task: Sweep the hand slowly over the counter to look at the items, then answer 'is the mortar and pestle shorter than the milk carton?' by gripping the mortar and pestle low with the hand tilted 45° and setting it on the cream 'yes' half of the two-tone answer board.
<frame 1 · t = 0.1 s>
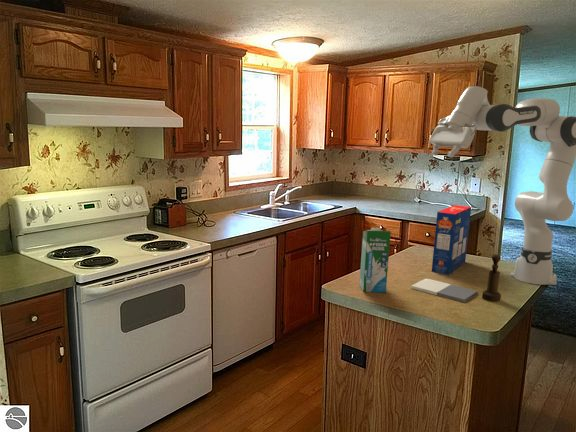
hand: (441, 155, 183), 54 cm above the table, tool tilted 30°, fingers open, 8 cm apart
pasta box: (449, 266, 229), on the table
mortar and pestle: (491, 299, 186), on the table
milk carton: (372, 289, 193), on the table
answer board: (443, 291, 193), on the table
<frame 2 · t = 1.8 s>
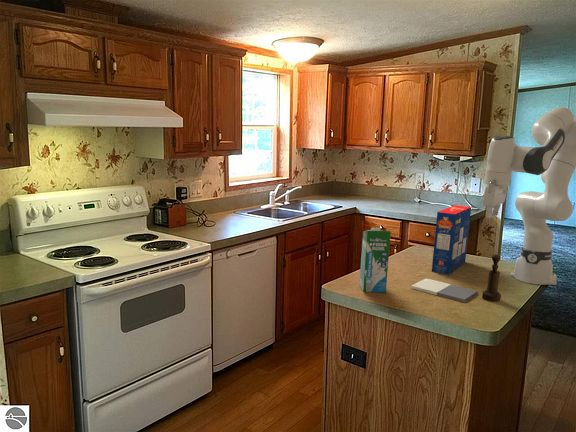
hand: (491, 216, 179), 33 cm above the table, tool pointing down, fingers open, 8 cm apart
nothing on the table moved.
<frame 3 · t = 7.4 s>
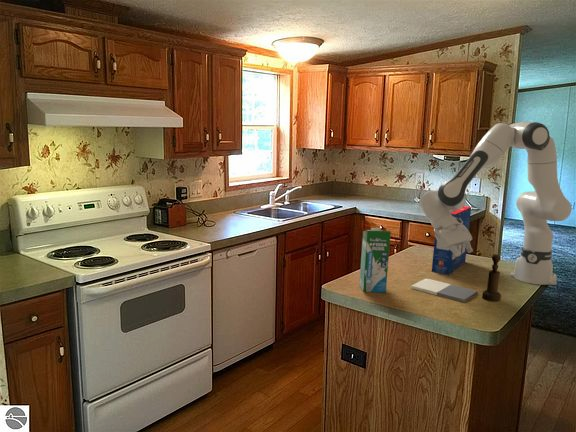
hand: (465, 253, 192), 15 cm above the table, tool tilted 45°, fingers open, 8 cm apart
nothing on the table moved.
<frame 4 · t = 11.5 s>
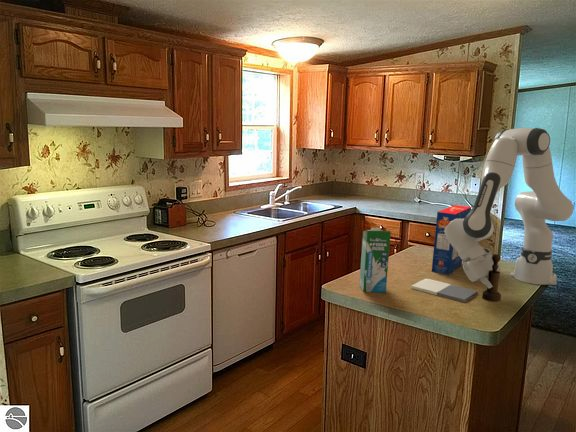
hand: (494, 286, 184), 5 cm above the table, tool tilted 45°, fingers closed on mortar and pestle, 4 cm apart
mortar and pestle: (491, 299, 186), on the table, touching gripper
everything else where it was.
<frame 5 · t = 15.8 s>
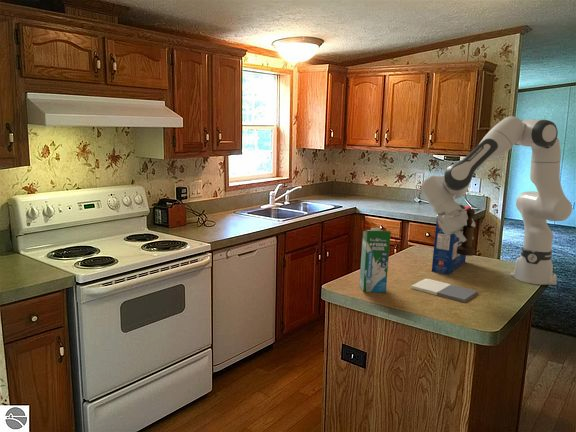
hand: (468, 240, 186), 22 cm above the table, tool tilted 45°, fingers closed on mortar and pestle, 4 cm apart
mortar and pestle: (465, 254, 188), point 16 cm above the table, touching gripper
everything else where it was.
when the fingers open (8 cm above the table, at t = 20.4 s): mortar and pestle drops 1 cm, resting on answer board.
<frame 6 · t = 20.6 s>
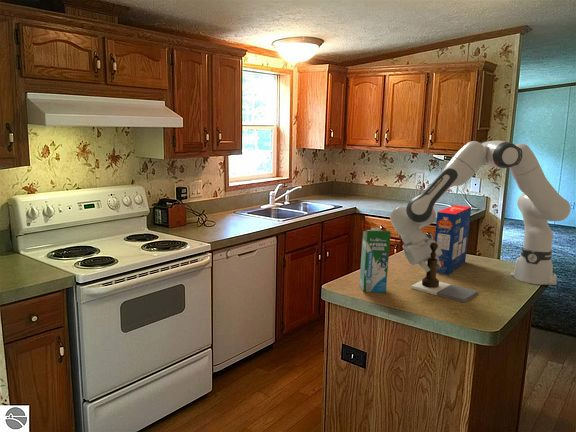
hand: (434, 269, 194), 8 cm above the table, tool tilted 45°, fingers open, 6 cm apart
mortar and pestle: (430, 285, 196), point 1 cm above the table, touching answer board
everything else where it was.
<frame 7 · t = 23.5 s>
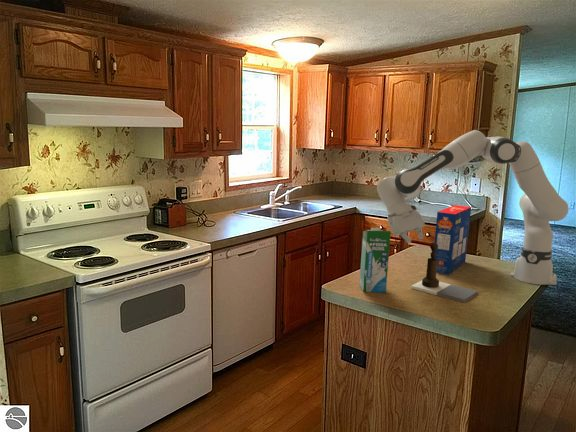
hand: (415, 240, 202), 18 cm above the table, tool tilted 40°, fingers open, 8 cm apart
nothing on the table moved.
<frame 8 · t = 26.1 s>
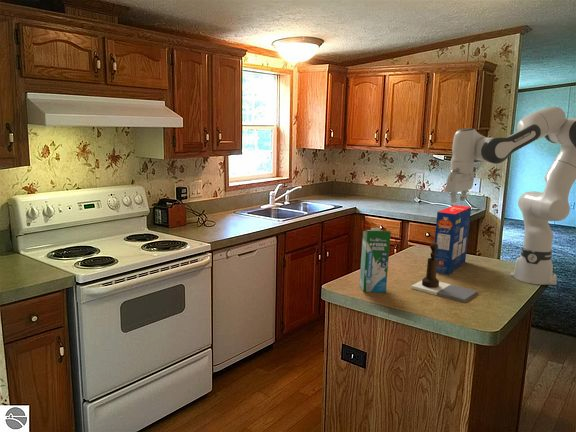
hand: (458, 201, 198), 35 cm above the table, tool pointing down, fingers open, 8 cm apart
nothing on the table moved.
at the end: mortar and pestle inside the target area on the answer board (0.9 cm from its centre), point 1.0 cm above the answer board's base; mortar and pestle tilted 0°; the gripper is holding nothing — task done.
